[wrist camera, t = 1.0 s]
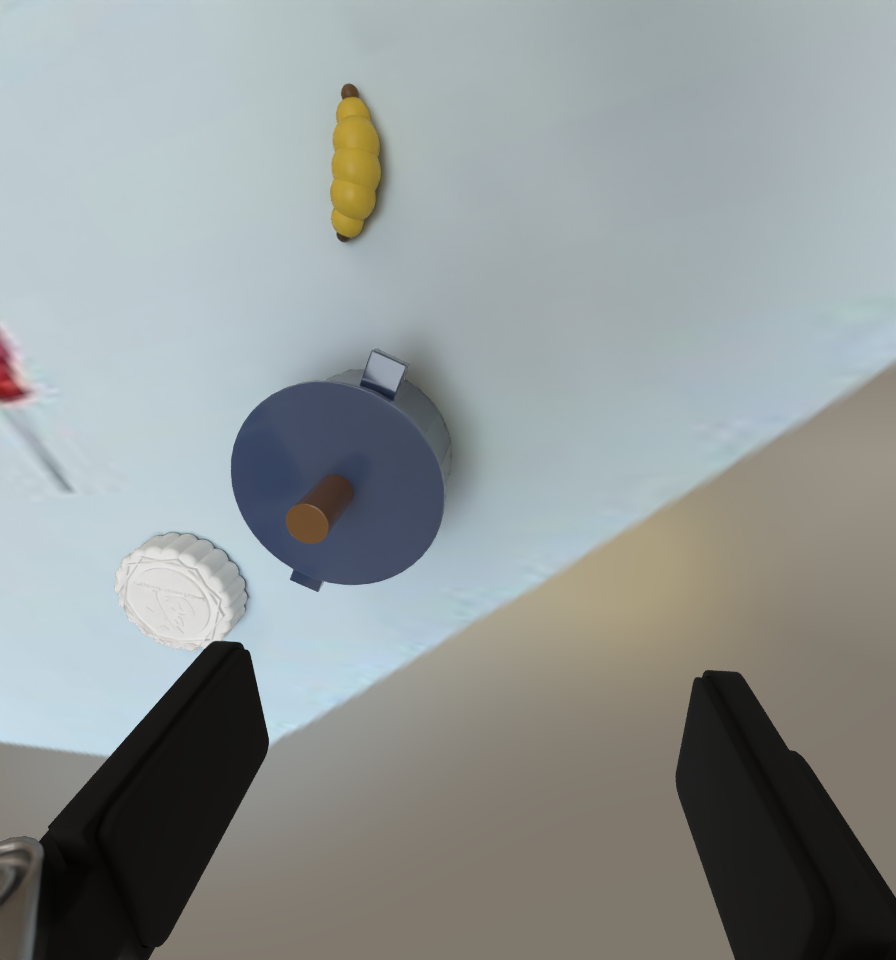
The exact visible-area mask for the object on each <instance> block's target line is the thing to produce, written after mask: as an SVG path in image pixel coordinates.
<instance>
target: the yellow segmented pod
mask: <svg viewBox="0 0 896 960" xmlns="http://www.w3.org/2000/svg"><path fill="white" fill-rule="evenodd" d="M341 96H342V99H343V100H342V101H341V102H340V103H339V105H338V108H337V112H336V119H337V123H338V124H337V125H336V127H335V130H334V133H333V146H334V150H335V153H334V155H333V159H332V174H333V178H334V180H333V182H332V185H331V190H330V195H331V201H332V204H333V206H334V209H333V211H332V216H331V220H332V224H333V227H334V229H335V230H336V231H337V237H338V239H339V240H340V241H342V242H347V241H349V240H350V238H351V237H355V236H357V235H358V234H359V233H360V232H361V230H362V228H363V224H364V219H365V218H367V217H368V216H369V215H370V214H371V212H372V211H373V209H374V206H375V201H376V195H375V190H376V188H377V187H378V184H379V182H380V177H381V168H380V163H379V160H378V155H379V150H380V142H379V137H378V134H377V131H376V129H375V128H374V126H373V125H372V124H371V116H370V112H369V109H368V107H367V106H366V104H365V103H364V102H363V101H362V100H361V99H359V93H358V90H357V88H356V87H355V86H354V85H352V84H346V85H344V86H343V88H342V91H341Z"/></svg>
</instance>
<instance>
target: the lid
mask: <svg viewBox="0 0 896 960" xmlns="http://www.w3.org/2000/svg"><path fill="white" fill-rule="evenodd" d="M231 479H232V487H233V491H234V495H235V499H236V502H237V504H238V507H239V510H240V512H241V514H242V516H243V518H244V520H245V522H246V524H247V525H248V527H249V528H250V530H251V531H252V533H253V534H254V535H255V536H256V538H257V539H258V540H259V541H260V543H261V544H262V545H263V546H264V547H265V548H266V549H267V550H268V551H269V552H270V553H271V554H273V555H274V556H275V557H276V558H278V559H279V560H280V561H282V562H283V563H285V564H286V565H288V566H289V567H291V568H292V569H294V570H296V571H298V572H300V573H302V574H304V575H307V576H309V577H312V578H315V579H317V580H321V581H325V582H329V583H335V584H342V585H361V584H370V583H375V582H379V581H382V580H385V579H388V578H391V577H393V576H395V575H397V574H399V573H401V572H403V571H405V570H406V569H407V568H409V567H410V566H412V565H413V564H414V563H415V562H416V561H417V560H419V559H420V558H421V557H422V556H423V554H424V553H425V552H426V551H427V549H428V548H429V547H430V545H431V544H432V542H433V540H434V538H435V537H436V534H437V532H438V530H439V527H440V524H441V521H442V517H443V513H444V507H445V481H444V476H443V471H442V467H441V464H440V461H439V458H438V455H437V453H436V451H435V449H434V447H433V445H432V443H431V441H430V440H429V438H428V437H427V435H426V434H425V432H424V431H423V429H422V428H421V427H420V426H419V425H418V423H417V422H416V421H415V420H414V419H413V418H412V417H411V416H410V415H409V414H408V413H407V412H406V411H405V410H404V409H402V408H401V407H400V406H399V405H397V404H396V403H394V402H393V401H392V400H390V399H389V398H387V397H385V396H383V395H381V394H379V393H378V392H376V391H374V390H371V389H368V388H366V387H363V386H361V385H357V384H353V383H349V382H344V381H335V380H314V381H308V382H302V383H299V384H296V385H292V386H289V387H287V388H284V389H282V390H280V391H278V392H276V393H274V394H272V395H271V396H269V397H268V398H267V399H265V400H264V401H262V402H261V403H260V404H259V405H258V406H257V407H256V408H255V409H254V410H253V411H252V412H251V413H250V415H249V416H248V417H247V419H246V420H245V421H244V423H243V425H242V427H241V429H240V431H239V433H238V435H237V438H236V441H235V444H234V447H233V453H232V458H231Z"/></svg>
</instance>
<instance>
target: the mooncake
mask: <svg viewBox="0 0 896 960" xmlns="http://www.w3.org/2000/svg"><path fill="white" fill-rule="evenodd" d="M238 573H239V570H238V567H237V566H236V565H235V564H234V563H233V562H231V561H228V557H227V555H226V554H225V552H223V551H222V550H220V549H214V547H213V545H212V544H211V543H210V542H209V541H207V540H197V538H196V537H194V536H193V535H190V534H183V535H181V536H180V535H178V534H176V533H168V534H166V535H164V536H155V537H153V538H151V539H150V540H149V541H147V542H146V543H144V544H143V545H141V546H140V547H138V548H137V549H135V550H134V551H133V552H132V553H130V554H129V555H127V556H126V557H124V558H123V559H122V561H121V567H120V568H118V569H117V570H116V573H115V576H116V579H117V582H116V583H115V586H114V588H115V591H116V593H117V594H118V595H119V599H118V602H119V605H120V606H121V608H122V609H123V610H124V611H126V615H127V618H128V619H129V620H130V621H131V622H132V623H134V624H137V625H138V628H139V630H140V631H141V632H142V633H143V634H145V635H146V636H149V637H152V638H153V639H154V640H155V641H156V642H158V643H160V644H163V645H169V646H170V647H172V648H174V649H182V648H185V649H187V650H189V651H195V650H198V649H199V648H204V649H205V648H206V647H207V646H208V645H209V644H210V643H211V642H213V641H222V640H223V639H224V638H225V637H226V636H227V634H228V633H229V632H230V631H231V630H232V628H233V627H234V626H235V625H236V623H237V622H238V620H239V619H240V618H241V616H242V615H243V614H244V612H245V607H244V604H245V603H246V602H247V594H246V592H245V591H244V588H245V581H244V579H243V578H242V577H241V576H239V575H238Z"/></svg>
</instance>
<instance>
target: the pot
mask: <svg viewBox="0 0 896 960" xmlns="http://www.w3.org/2000/svg"><path fill="white" fill-rule="evenodd" d="M408 367H409V363H407V362H404V361H402V360H400V359H398V358H396V357H394V356H392V355H389V354H387V353H385V352H383V351H381V350H379V349H374V350H372V351H371V354H370V357H369V359H368V362H367V365H366V368H365V369H364V370H348V371H345V372H343V373H340V374H338V375H335V376H333V377H331V378H328V379H326V380H335V381H344V382H349V383H353V384H357V385H361V386H363V387H366V388H368V389H371V390H374V391H376V392H378V393H379V394H381V395H383V396H385V397H387V398H389V399H390V400H392V401H393V402H394V403H396V404H397V405H399V406H400V407H401V408H402V409H404V410H405V411H406V412H407V413H408V414H409V415H410V416H411V417H412V418H413V419H414V420H415V421H416V422H417V423H418V425H419V426H420V427H421V428H422V429H423V431H424V432H425V434H426V435H427V437H428V438H429V440H430V441H431V443H432V445H433V447H434V449H435V451H436V453H437V455H438V458H439V461H440V464H441V467H442V471H443V476H444V481H445V486H446V483H447V480H448V477H449V474H450V463H451V442H450V438H449V434H448V430H447V427H446V424H445V422H444V420H443V418H442V416H441V414H440V412H439V411H438V409H437V408H436V406H435V405H434V404H433V402H432V401H431V400H430V399H429V398H428V397H427V396H426V395H425V394H424V393H423V392H422V391H421V390H420V389H419V388H417V387H416V386H414V385H413V384H412V383H410V382H408V381H407V380H405V379H404V378H405V375H406V373H407V370H408ZM290 580H291V581H294V582H296V583H298V584H301V585H303V586H305V587H308V588H310V589H312V590H314V591H317V592H318V591H319V590H320V588H321V587H322V585H323V583H324V581H321V580H317V579H315V578H312V577H309V576H307V575H304V574H302V573H300V572H298V571H296V570H294V569H293V572H292V575H291V578H290Z"/></svg>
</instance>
